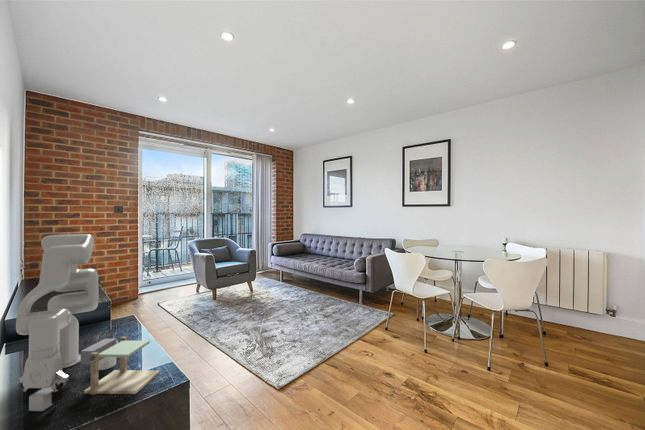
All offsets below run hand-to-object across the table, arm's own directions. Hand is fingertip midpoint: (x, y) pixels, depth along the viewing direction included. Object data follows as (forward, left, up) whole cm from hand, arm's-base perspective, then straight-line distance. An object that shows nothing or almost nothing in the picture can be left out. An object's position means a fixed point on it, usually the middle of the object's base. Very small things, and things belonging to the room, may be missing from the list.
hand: (43, 401), depth 94 cm
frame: (+18, +14, -2) cm, 23 cm away
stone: (0, 0, -2) cm, 2 cm away
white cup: (0, +26, -2) cm, 26 cm away
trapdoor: (+15, +14, +8) cm, 22 cm away
